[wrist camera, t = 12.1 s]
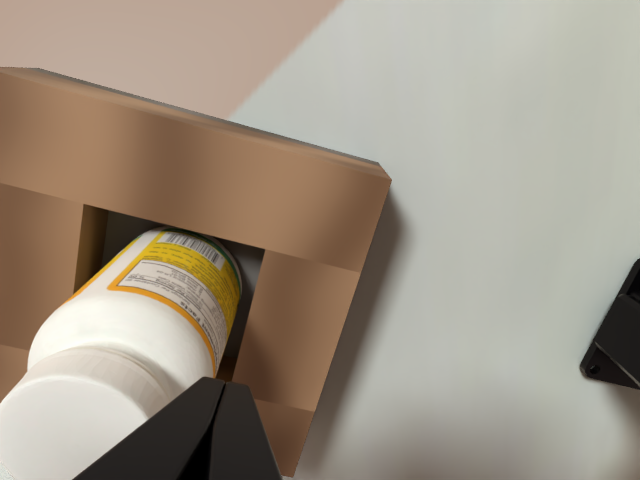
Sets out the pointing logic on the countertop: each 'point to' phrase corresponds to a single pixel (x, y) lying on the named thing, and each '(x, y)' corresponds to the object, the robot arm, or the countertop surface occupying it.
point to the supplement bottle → (120, 352)
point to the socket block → (188, 213)
